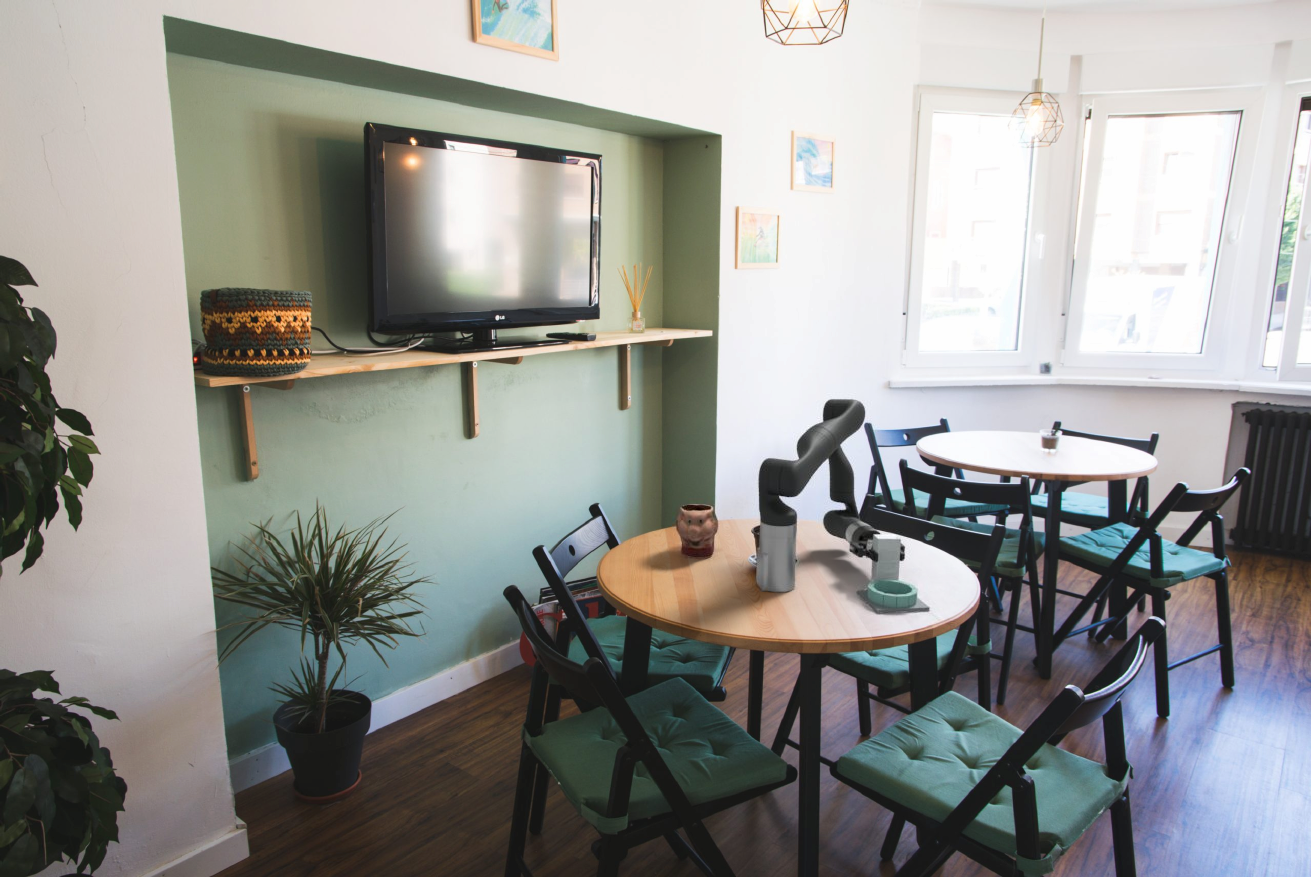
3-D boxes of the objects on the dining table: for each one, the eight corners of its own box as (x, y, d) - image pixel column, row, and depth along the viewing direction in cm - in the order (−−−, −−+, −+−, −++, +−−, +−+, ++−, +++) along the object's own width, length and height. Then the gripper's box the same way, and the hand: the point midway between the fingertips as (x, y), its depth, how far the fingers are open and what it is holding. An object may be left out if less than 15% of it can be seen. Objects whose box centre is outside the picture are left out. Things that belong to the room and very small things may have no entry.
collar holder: (877, 613, 189) (878, 598, 188) (856, 593, 202) (856, 579, 201) (929, 610, 191) (930, 596, 190) (905, 590, 203) (905, 577, 203)
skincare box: (893, 578, 209) (896, 533, 207) (898, 583, 205) (901, 538, 203) (870, 578, 209) (872, 533, 207) (875, 583, 205) (877, 538, 203)
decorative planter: (675, 541, 243) (676, 497, 241) (715, 542, 243) (716, 497, 241) (676, 563, 224) (676, 515, 221) (719, 563, 223) (720, 515, 221)
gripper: (839, 525, 218) (863, 544, 202) (889, 524, 220) (917, 542, 204) (838, 552, 219) (862, 573, 203) (887, 550, 221) (915, 570, 205)
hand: (889, 557), depth 203 cm, fingers closed on skincare box, 6 cm apart
